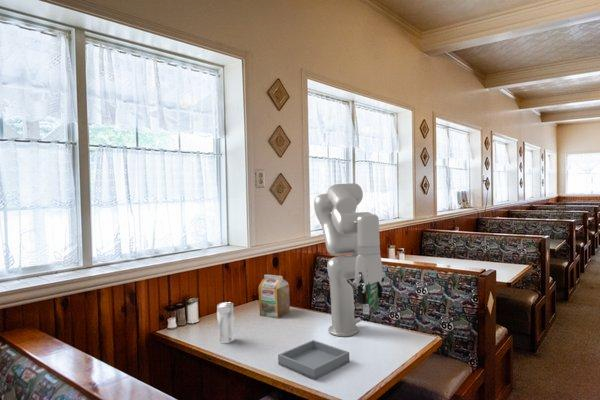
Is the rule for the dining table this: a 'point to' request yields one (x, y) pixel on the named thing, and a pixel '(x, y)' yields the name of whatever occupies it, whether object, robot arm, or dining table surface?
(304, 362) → the grey tray
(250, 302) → the dining table surface
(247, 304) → the dining table surface
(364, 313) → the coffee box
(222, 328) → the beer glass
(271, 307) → the milk carton
